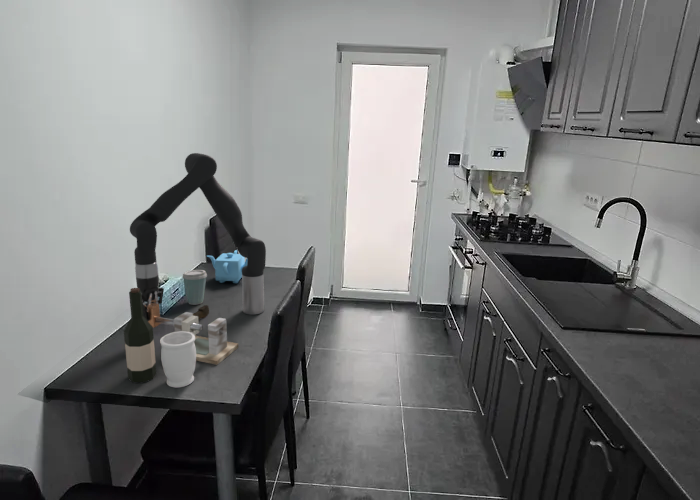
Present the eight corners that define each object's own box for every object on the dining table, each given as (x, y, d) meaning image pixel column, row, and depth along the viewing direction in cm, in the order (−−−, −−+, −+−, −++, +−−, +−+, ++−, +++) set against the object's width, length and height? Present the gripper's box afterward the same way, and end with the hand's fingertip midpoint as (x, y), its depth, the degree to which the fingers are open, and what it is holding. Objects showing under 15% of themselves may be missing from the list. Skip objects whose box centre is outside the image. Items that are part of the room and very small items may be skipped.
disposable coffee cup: (178, 304, 209) (176, 272, 205) (194, 296, 218) (193, 266, 214) (197, 308, 205) (195, 276, 201) (213, 300, 214) (211, 269, 211)
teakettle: (224, 288, 231) (223, 260, 228) (206, 278, 244) (204, 252, 240) (256, 280, 244) (255, 254, 241) (237, 272, 257) (236, 246, 253)
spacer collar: (193, 331, 170) (192, 315, 169) (199, 332, 170) (198, 316, 168) (182, 338, 164) (181, 321, 163) (188, 339, 164) (187, 323, 162)
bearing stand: (187, 337, 177) (186, 307, 173) (238, 347, 170) (237, 316, 167) (163, 353, 164) (161, 321, 160) (217, 364, 157) (215, 331, 154)
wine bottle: (162, 372, 151) (155, 286, 144) (143, 385, 144) (135, 295, 136) (141, 367, 154) (134, 283, 146) (122, 380, 146) (113, 291, 138)
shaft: (149, 322, 174) (147, 302, 172) (204, 332, 167) (203, 311, 165) (142, 325, 170) (141, 305, 168) (198, 336, 164) (197, 315, 162)
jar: (168, 372, 152) (165, 330, 148) (200, 372, 152) (198, 330, 149) (158, 390, 141) (155, 346, 137) (193, 389, 142) (190, 345, 138)
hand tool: (185, 331, 182) (184, 320, 181) (177, 329, 183) (176, 319, 182) (214, 314, 199) (214, 304, 198) (206, 313, 201) (206, 303, 199)
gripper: (141, 281, 159) (146, 327, 163) (168, 270, 172) (172, 312, 176) (124, 278, 161) (128, 324, 165) (152, 267, 174) (155, 310, 178)
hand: (151, 318), depth 171 cm, fingers closed on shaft, 3 cm apart
